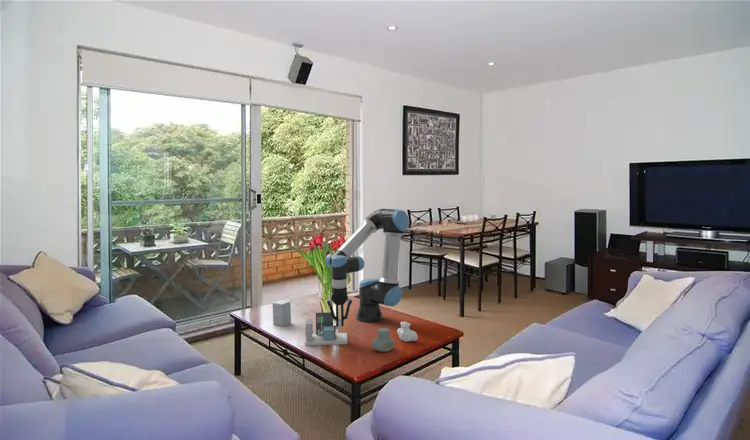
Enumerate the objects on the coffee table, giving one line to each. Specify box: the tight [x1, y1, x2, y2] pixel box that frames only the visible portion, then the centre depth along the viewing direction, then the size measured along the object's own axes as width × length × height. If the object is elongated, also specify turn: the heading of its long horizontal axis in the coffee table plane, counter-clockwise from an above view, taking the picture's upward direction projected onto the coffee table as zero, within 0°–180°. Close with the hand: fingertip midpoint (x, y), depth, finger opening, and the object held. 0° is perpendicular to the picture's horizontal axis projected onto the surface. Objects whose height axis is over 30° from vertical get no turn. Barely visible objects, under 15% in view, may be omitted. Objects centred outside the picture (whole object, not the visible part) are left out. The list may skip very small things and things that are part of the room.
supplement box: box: [272, 299, 292, 327], centre depth 259 cm, size 7×7×13 cm
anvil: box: [305, 318, 314, 342], centre depth 231 cm, size 3×8×9 cm, turn 5°
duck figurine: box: [396, 321, 419, 343], centre depth 232 cm, size 12×8×11 cm
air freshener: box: [371, 327, 396, 353], centre depth 220 cm, size 11×8×10 cm
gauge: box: [318, 316, 336, 340], centre depth 232 cm, size 9×8×10 cm
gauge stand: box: [304, 311, 348, 347], centre depth 232 cm, size 21×12×13 cm, turn 95°
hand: (340, 332), depth 232 cm, fingers closed
